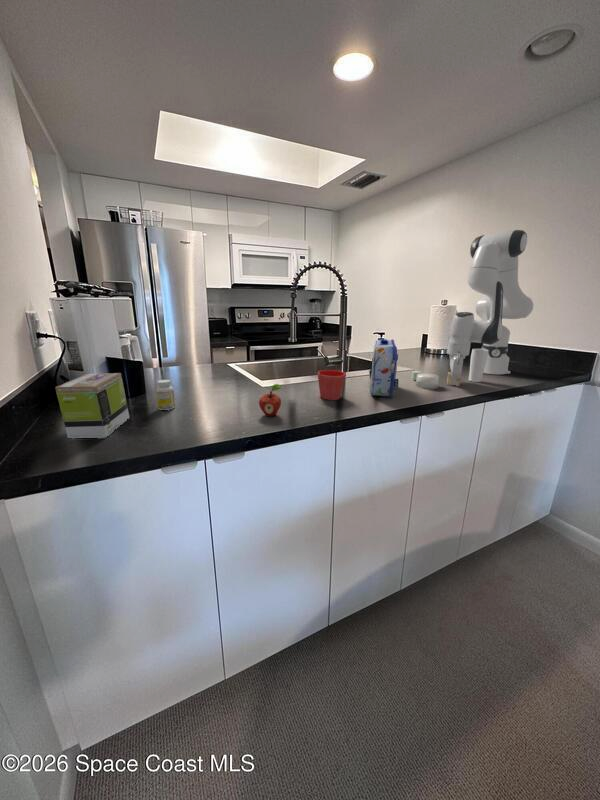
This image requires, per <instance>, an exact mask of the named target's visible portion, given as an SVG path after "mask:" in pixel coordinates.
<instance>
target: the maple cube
mask: <svg viewBox="0 0 600 800" xmlns="http://www.w3.org/2000/svg"><path fill="white" fill-rule="evenodd" d="M461 376H462V374H461V375H458V377H457V380H456V383H452V373H451V371H448V372H447V378H446V385H447V386H452V385H456V386H455V387H460V384H461V383H460V382H461V378H462V377H461Z"/></svg>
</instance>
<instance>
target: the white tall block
mask: <svg viewBox="0 0 600 800" xmlns="http://www.w3.org/2000/svg"><path fill="white" fill-rule="evenodd" d="M488 351H489V350H486V349H481V348H472V350H471V355H470V362H469V363H470V364H469V372H468V373H469V374H468V381H469V382H471V381H472V382H471V383H480V382H482V380H483V379H482V378H483V376H484V375H483V374H484V373H483V372H484V368H485V365H486V362H487V358H488Z"/></svg>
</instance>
